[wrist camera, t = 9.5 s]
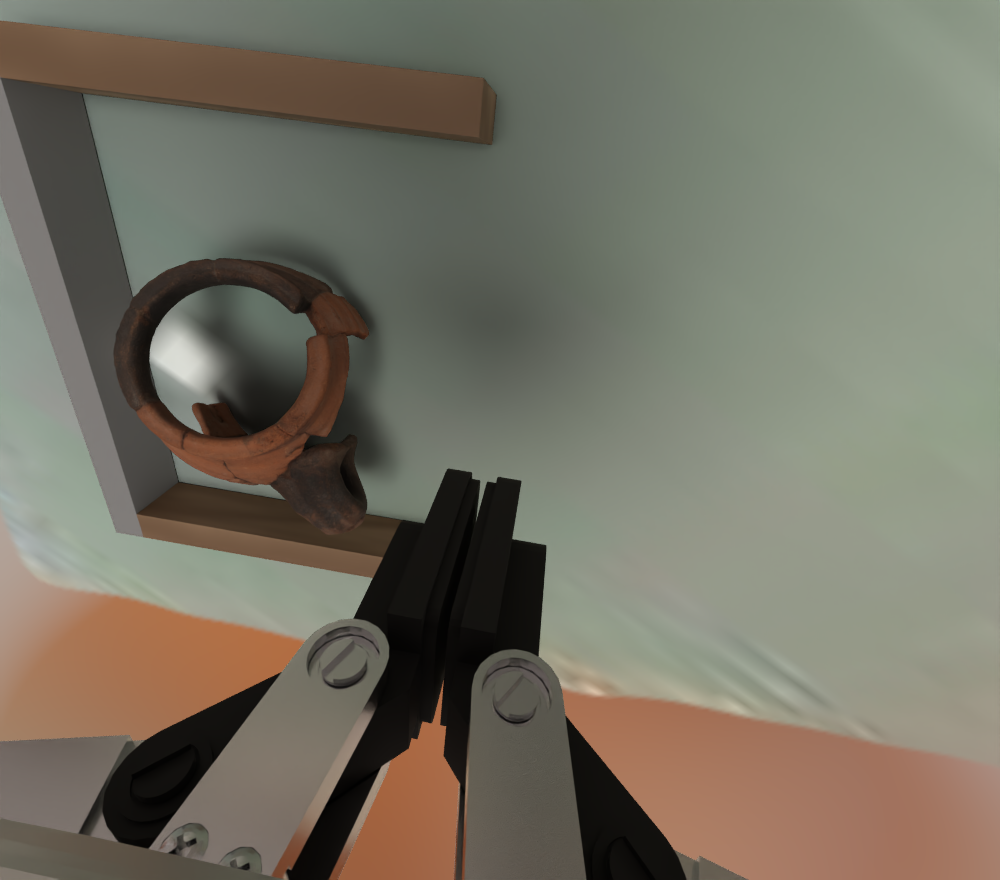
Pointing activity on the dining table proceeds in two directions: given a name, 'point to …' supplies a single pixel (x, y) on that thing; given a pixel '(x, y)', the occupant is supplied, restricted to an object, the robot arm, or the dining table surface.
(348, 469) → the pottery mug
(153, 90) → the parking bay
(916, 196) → the dining table surface
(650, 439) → the dining table surface
